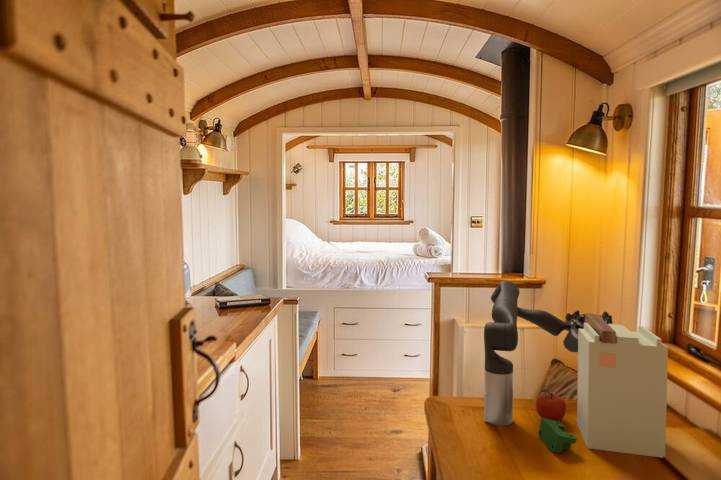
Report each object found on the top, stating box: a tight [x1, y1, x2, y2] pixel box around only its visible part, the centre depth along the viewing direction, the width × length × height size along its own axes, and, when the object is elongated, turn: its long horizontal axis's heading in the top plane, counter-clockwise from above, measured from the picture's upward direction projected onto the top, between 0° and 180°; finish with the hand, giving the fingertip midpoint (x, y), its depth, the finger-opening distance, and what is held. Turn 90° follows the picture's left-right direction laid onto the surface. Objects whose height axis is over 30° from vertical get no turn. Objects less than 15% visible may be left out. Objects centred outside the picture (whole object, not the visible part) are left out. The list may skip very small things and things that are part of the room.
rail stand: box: [576, 323, 669, 459], centre depth 133 cm, size 20×16×34 cm
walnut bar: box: [584, 312, 616, 344], centre depth 137 cm, size 4×24×4 cm, turn 163°
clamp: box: [537, 418, 578, 454], centre depth 131 cm, size 12×6×9 cm, turn 175°
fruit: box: [535, 389, 567, 422], centre depth 148 cm, size 10×10×10 cm
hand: (592, 313), depth 146 cm, fingers open, 8 cm apart
